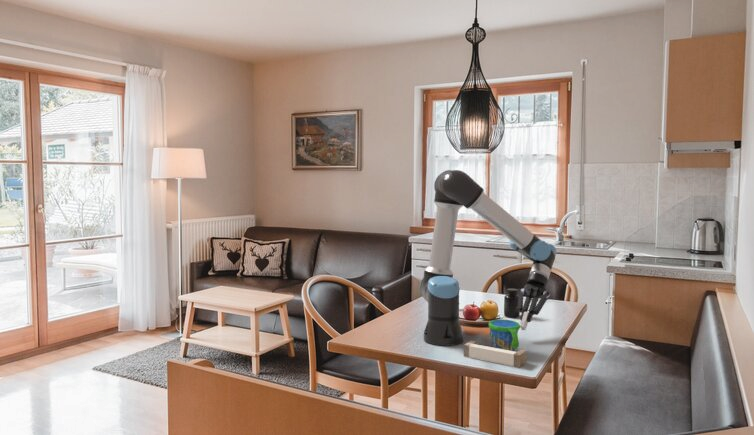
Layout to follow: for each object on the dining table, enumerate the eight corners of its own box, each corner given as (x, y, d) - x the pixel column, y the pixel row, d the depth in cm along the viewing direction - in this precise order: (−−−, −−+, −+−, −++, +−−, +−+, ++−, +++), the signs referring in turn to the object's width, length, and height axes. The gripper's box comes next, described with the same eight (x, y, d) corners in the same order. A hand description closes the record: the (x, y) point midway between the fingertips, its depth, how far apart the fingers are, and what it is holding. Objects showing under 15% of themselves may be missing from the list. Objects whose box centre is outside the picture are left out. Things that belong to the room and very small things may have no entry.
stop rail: (463, 356, 190) (463, 344, 189) (471, 351, 195) (471, 340, 194) (519, 367, 178) (519, 355, 178) (526, 362, 183) (526, 350, 183)
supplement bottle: (520, 318, 239) (520, 291, 238) (504, 317, 241) (504, 290, 240) (519, 314, 246) (519, 288, 245) (503, 313, 247) (503, 287, 246)
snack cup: (527, 357, 188) (528, 328, 188) (499, 359, 186) (499, 330, 185) (508, 343, 204) (508, 316, 203) (481, 345, 201) (481, 318, 201)
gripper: (557, 284, 218) (542, 336, 206) (525, 281, 225) (508, 330, 213) (552, 273, 213) (537, 325, 201) (520, 270, 221) (503, 320, 208)
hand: (522, 328), depth 207 cm, fingers closed
